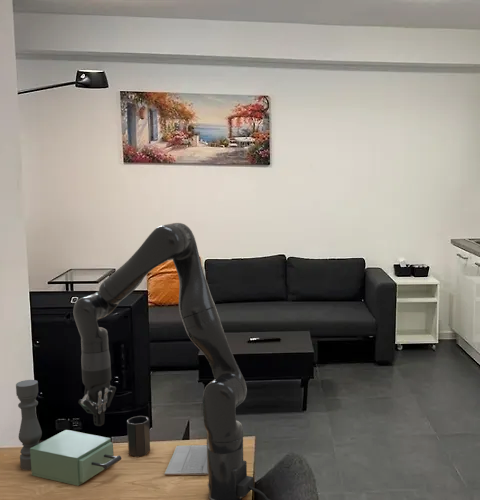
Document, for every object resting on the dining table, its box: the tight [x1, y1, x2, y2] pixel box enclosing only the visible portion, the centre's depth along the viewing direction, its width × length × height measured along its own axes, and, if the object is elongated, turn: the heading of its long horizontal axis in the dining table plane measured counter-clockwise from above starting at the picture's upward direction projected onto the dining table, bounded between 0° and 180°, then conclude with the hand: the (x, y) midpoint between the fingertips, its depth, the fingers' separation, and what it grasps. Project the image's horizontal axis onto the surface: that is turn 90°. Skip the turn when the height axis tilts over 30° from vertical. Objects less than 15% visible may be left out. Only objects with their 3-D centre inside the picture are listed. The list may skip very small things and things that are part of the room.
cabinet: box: [30, 429, 112, 487], centre depth 187 cm, size 17×14×8 cm
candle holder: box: [15, 379, 43, 471], centre depth 188 cm, size 6×6×25 cm
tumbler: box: [126, 415, 151, 458], centre depth 198 cm, size 6×6×10 cm
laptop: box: [164, 433, 208, 476], centre depth 193 cm, size 18×12×13 cm
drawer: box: [79, 441, 122, 484], centre depth 186 cm, size 21×12×6 cm, turn 70°
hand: (99, 424), depth 183 cm, fingers closed
